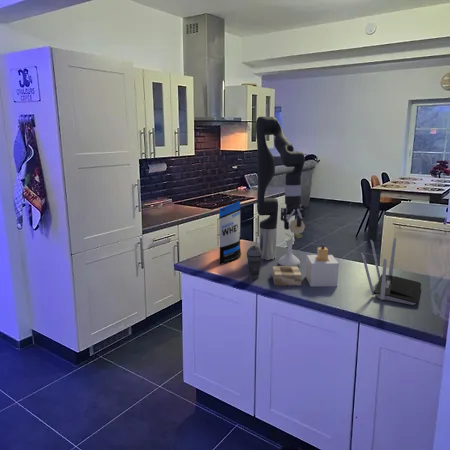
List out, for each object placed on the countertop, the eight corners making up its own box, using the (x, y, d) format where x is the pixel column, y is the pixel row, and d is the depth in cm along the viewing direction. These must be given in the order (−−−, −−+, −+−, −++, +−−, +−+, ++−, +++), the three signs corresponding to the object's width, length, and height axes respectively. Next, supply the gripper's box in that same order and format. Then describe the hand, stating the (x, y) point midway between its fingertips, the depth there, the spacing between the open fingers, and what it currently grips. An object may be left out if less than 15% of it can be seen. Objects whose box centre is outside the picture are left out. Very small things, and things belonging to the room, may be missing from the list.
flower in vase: (276, 267, 202) (277, 220, 196) (280, 260, 212) (281, 215, 206) (301, 270, 198) (303, 222, 192) (304, 262, 208) (306, 216, 202)
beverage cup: (250, 273, 194) (251, 234, 189) (264, 276, 190) (264, 236, 185) (243, 278, 188) (243, 238, 183) (257, 281, 184) (258, 240, 179)
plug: (316, 263, 184) (317, 243, 181) (325, 263, 184) (326, 243, 181) (318, 266, 180) (319, 245, 177) (327, 266, 180) (328, 245, 177)
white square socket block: (305, 276, 190) (306, 254, 187) (330, 276, 189) (332, 254, 187) (310, 286, 178) (311, 263, 175) (337, 286, 178) (338, 263, 175)
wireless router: (416, 313, 152) (422, 264, 147) (354, 300, 163) (358, 255, 158) (421, 283, 181) (426, 241, 176) (369, 274, 192) (372, 235, 187)
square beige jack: (272, 275, 191) (272, 266, 190) (297, 275, 191) (297, 266, 189) (274, 285, 179) (275, 275, 178) (301, 285, 179) (301, 275, 178)
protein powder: (212, 263, 209) (211, 207, 202) (232, 250, 230) (232, 200, 222) (227, 266, 205) (227, 209, 197) (247, 252, 225) (248, 201, 218)
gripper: (297, 192, 193) (297, 224, 196) (276, 195, 184) (276, 229, 187) (309, 193, 187) (308, 227, 190) (288, 196, 178) (288, 231, 181)
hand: (292, 228), depth 189 cm, fingers open, 8 cm apart
